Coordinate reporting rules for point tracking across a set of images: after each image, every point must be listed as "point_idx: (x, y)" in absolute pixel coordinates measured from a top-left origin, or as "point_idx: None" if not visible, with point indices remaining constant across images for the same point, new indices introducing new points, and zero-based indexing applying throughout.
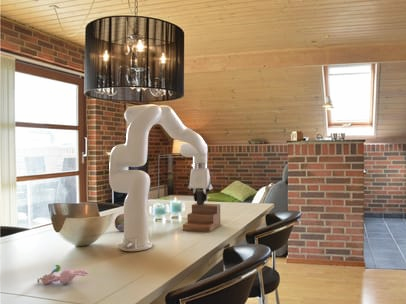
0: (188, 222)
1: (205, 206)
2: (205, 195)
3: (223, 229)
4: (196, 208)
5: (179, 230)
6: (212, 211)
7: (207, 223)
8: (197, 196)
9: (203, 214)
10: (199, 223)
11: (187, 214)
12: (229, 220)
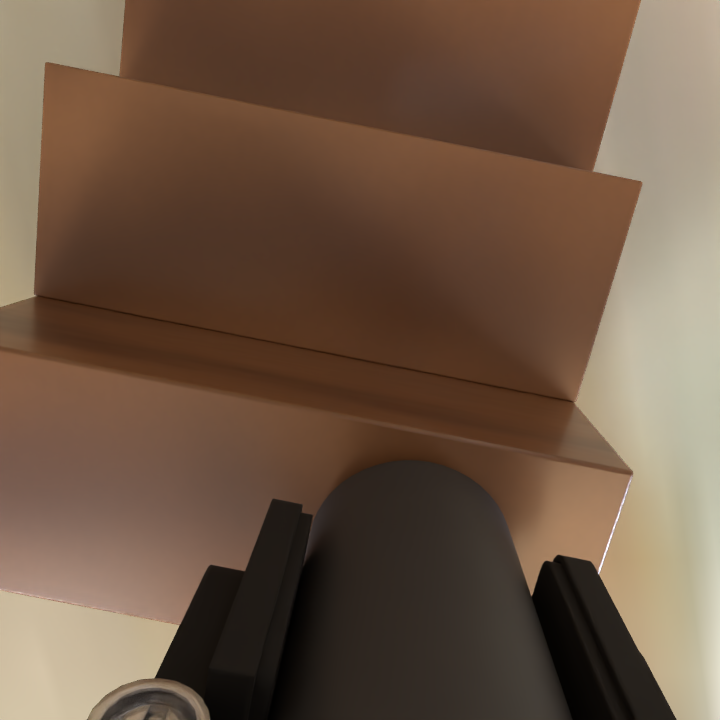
0: (568, 161)
1: (247, 384)
2: (179, 660)
3: (14, 120)
4: (484, 413)
5: (668, 16)
6: (111, 322)
7: (219, 89)
8: (515, 627)
9: (285, 180)
10: (359, 84)
11: (640, 181)
12: (76, 657)
